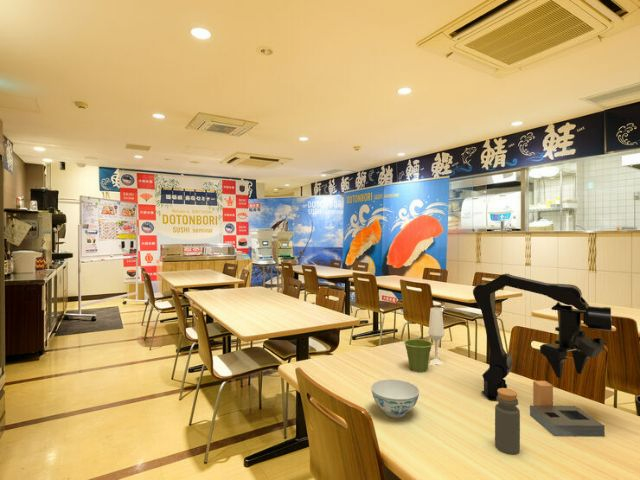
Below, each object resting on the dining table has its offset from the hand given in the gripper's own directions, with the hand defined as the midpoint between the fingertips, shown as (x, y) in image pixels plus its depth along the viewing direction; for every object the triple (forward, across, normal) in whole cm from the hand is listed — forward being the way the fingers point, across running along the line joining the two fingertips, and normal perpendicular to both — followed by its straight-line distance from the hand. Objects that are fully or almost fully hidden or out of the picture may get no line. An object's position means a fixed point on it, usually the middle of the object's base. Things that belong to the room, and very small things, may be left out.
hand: (569, 375), depth 112 cm
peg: (+13, -2, +7) cm, 15 cm away
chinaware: (+13, -49, +21) cm, 55 cm away
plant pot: (+13, -20, +50) cm, 55 cm away
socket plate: (+13, -6, -4) cm, 15 cm away
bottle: (+13, -32, -6) cm, 35 cm away
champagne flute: (+13, -7, +54) cm, 56 cm away
